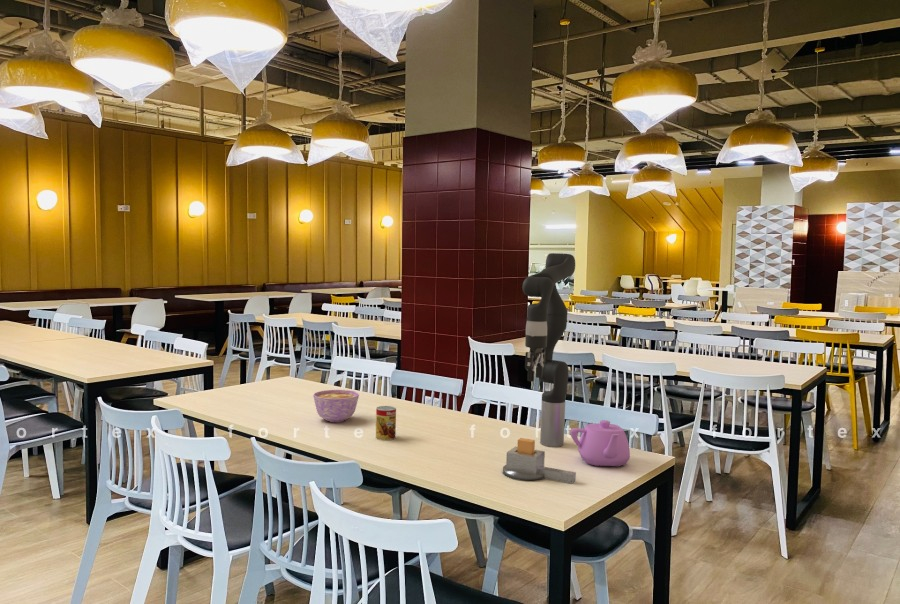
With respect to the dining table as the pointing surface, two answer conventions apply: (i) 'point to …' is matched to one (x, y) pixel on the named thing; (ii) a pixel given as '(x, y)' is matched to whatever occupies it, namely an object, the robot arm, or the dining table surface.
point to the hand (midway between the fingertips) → (534, 379)
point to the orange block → (526, 446)
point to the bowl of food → (336, 404)
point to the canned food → (385, 422)
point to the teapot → (602, 444)
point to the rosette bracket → (533, 468)
